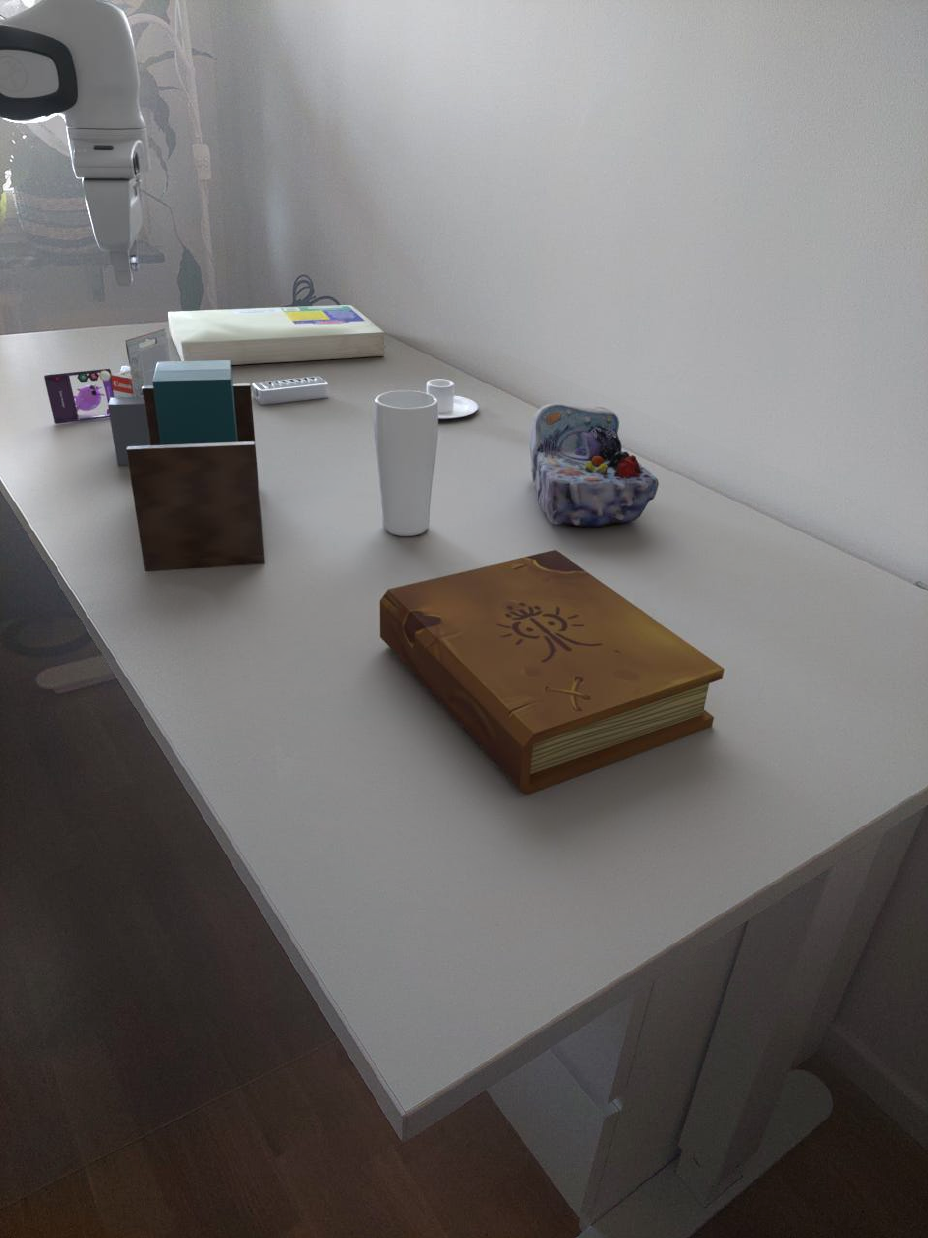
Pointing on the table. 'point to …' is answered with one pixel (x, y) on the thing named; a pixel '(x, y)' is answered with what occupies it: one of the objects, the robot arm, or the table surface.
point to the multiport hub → (290, 390)
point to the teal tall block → (195, 402)
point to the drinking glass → (406, 458)
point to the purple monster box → (85, 400)
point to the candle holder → (450, 400)
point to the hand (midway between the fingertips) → (128, 277)
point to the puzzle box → (275, 334)
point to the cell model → (586, 468)
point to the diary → (548, 666)
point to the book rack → (198, 495)
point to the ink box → (140, 364)
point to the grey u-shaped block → (128, 424)
